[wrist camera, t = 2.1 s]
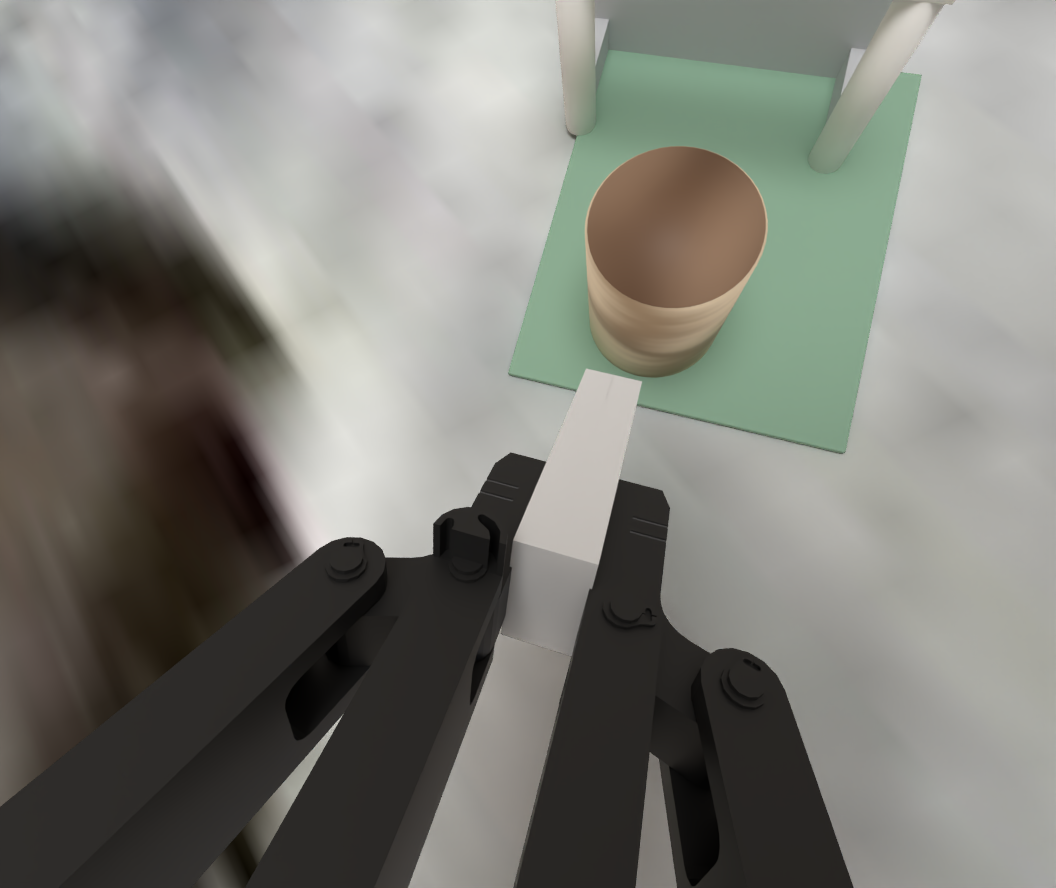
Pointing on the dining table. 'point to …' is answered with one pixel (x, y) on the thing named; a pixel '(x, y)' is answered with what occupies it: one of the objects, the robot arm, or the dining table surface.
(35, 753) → the dining table surface
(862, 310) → the pitch
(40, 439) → the dining table surface
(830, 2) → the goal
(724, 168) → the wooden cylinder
